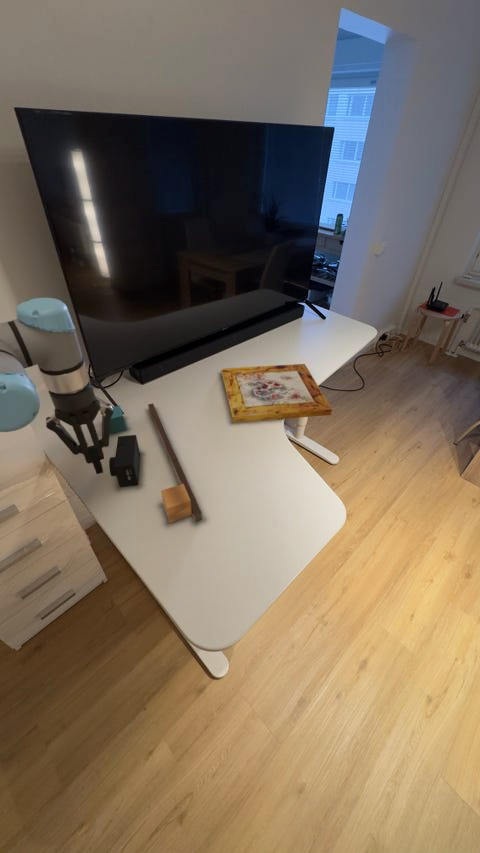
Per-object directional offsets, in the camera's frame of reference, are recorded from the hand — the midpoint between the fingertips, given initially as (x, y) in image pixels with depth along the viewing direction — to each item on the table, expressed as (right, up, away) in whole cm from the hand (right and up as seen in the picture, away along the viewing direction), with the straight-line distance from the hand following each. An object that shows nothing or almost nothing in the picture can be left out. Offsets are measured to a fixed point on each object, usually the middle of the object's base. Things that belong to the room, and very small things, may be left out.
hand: (99, 469), depth 80 cm
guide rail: (+15, +2, +8) cm, 17 cm away
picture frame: (+43, +21, +32) cm, 57 cm away
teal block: (-2, +10, +16) cm, 19 cm away
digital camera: (+5, -1, +4) cm, 7 cm away
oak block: (+19, -8, -5) cm, 21 cm away
